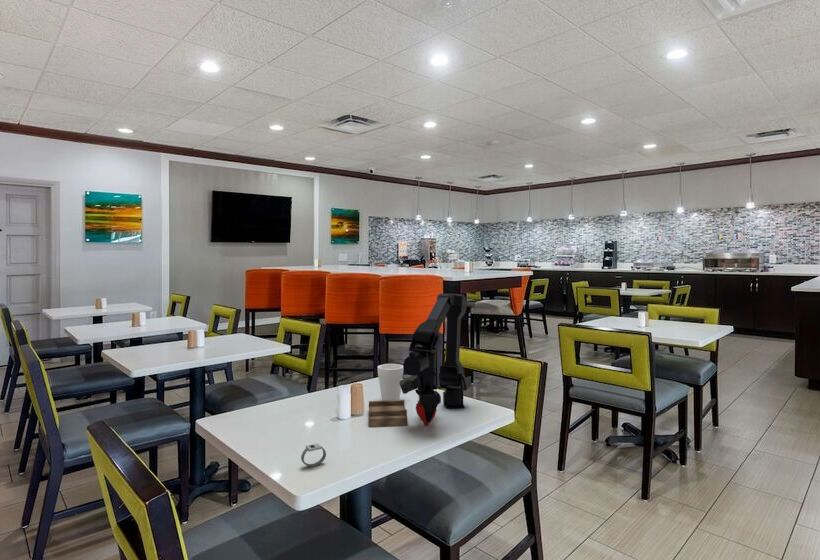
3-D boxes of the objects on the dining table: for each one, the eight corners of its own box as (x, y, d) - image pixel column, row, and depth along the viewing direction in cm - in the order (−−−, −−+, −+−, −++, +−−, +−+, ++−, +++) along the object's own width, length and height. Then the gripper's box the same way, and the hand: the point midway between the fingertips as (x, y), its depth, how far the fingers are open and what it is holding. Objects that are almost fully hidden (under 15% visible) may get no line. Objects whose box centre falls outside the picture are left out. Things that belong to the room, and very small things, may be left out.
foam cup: (406, 399, 176) (406, 364, 175) (400, 406, 167) (400, 370, 166) (381, 397, 178) (381, 363, 177) (374, 404, 169) (374, 368, 168)
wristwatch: (323, 460, 122) (323, 441, 122) (327, 464, 120) (327, 445, 120) (300, 466, 119) (299, 446, 119) (303, 470, 117) (303, 450, 117)
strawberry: (426, 431, 143) (426, 398, 142) (411, 424, 149) (411, 392, 148) (441, 426, 146) (441, 395, 146) (425, 420, 152) (425, 389, 152)
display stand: (403, 409, 164) (403, 397, 163) (407, 425, 148) (407, 412, 148) (368, 410, 163) (368, 399, 162) (369, 426, 147) (368, 414, 146)
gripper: (398, 362, 155) (399, 408, 156) (402, 376, 137) (403, 429, 138) (432, 361, 156) (432, 407, 157) (441, 375, 138) (441, 428, 138)
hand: (426, 417), depth 148 cm, fingers closed on strawberry, 7 cm apart
